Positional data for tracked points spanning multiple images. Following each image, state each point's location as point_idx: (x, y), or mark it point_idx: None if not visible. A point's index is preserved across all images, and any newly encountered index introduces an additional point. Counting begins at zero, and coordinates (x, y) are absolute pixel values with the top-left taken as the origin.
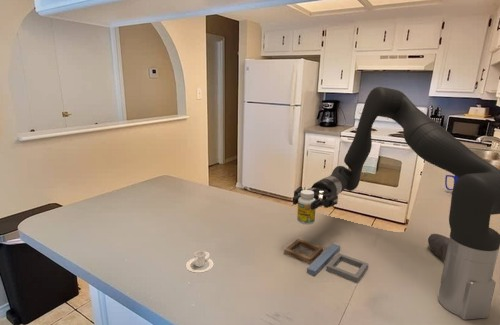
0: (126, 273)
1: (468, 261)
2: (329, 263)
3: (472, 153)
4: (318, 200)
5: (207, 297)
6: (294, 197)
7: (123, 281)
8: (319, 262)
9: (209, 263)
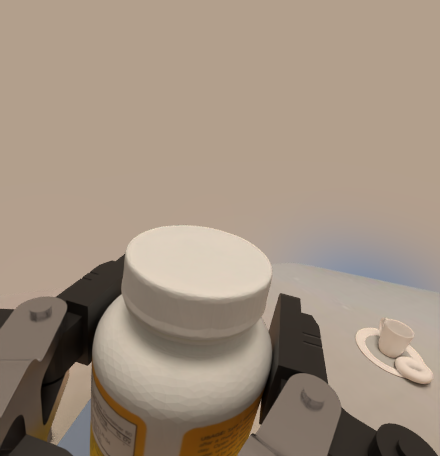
0: (435, 304)
1: None
2: None
3: None
4: (71, 301)
5: (292, 289)
6: (295, 300)
7: (413, 293)
8: (76, 441)
9: (379, 361)
